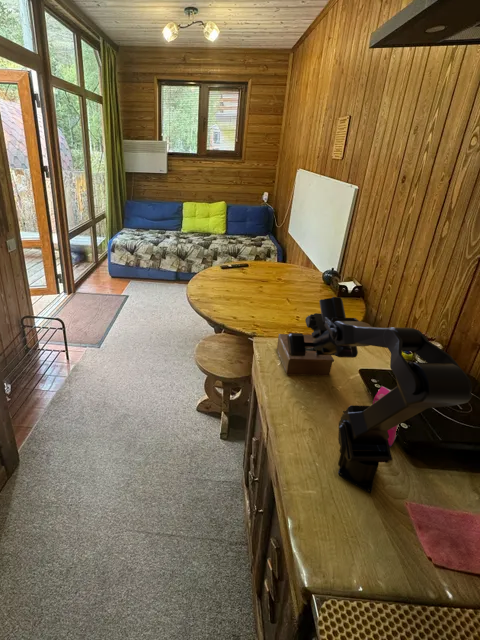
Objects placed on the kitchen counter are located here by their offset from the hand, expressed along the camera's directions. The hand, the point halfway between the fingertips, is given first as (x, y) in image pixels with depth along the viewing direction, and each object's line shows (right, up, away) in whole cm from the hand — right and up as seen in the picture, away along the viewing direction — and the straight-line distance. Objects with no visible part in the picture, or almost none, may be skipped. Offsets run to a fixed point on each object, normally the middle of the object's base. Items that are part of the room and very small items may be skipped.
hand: (311, 349), depth 95 cm
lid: (0, -1, +6) cm, 6 cm away
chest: (0, -7, +8) cm, 10 cm away
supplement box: (+11, -16, -17) cm, 26 cm away
